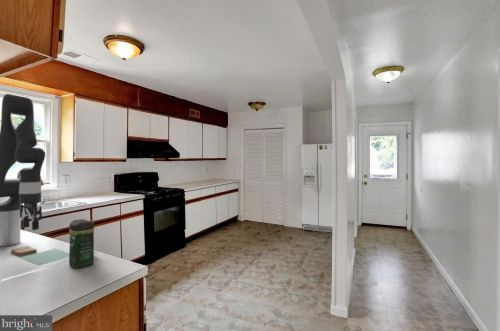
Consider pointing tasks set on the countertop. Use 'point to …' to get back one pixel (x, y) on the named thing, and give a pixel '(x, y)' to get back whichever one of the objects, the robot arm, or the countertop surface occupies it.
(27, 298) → the countertop surface
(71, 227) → the coffee jar
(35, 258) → the mat
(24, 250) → the slab
